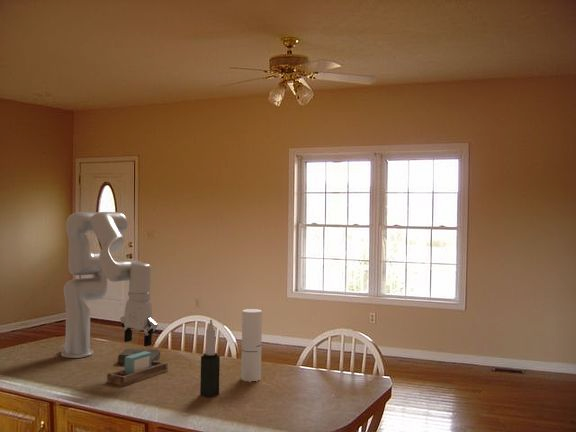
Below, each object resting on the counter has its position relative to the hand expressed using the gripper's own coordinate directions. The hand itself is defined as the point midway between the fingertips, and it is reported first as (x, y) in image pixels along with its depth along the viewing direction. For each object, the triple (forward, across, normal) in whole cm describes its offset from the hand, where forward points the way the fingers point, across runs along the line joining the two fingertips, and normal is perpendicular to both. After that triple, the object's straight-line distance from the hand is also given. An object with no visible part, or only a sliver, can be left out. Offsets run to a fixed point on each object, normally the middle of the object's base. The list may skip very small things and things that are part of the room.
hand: (137, 343), depth 207 cm
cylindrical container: (+11, +37, +20) cm, 44 cm away
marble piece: (+13, -13, +15) cm, 24 cm away
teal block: (+11, +1, 0) cm, 11 cm away
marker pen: (+11, +35, -2) cm, 37 cm away
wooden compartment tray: (+12, +1, 0) cm, 12 cm away
